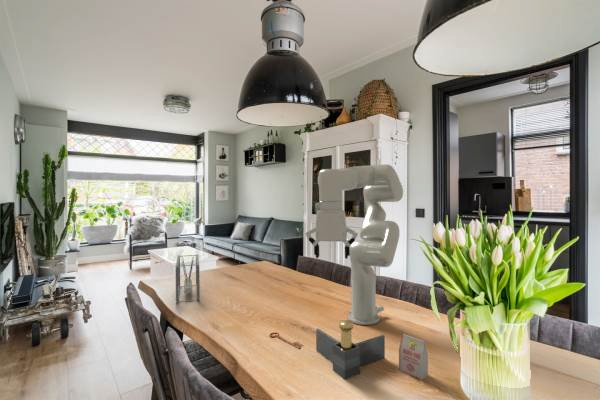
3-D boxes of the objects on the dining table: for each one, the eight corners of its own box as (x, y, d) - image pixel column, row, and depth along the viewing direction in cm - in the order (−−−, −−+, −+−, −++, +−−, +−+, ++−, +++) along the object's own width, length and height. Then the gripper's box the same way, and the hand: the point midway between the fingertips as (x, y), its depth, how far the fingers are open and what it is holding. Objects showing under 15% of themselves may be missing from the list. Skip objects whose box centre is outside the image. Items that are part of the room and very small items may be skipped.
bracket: (352, 339, 110) (352, 317, 109) (390, 361, 95) (390, 337, 94) (310, 352, 101) (310, 328, 101) (344, 379, 86) (344, 352, 86)
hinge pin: (347, 366, 92) (347, 319, 92) (356, 373, 89) (356, 323, 89) (336, 370, 90) (336, 321, 90) (345, 377, 87) (344, 326, 86)
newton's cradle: (199, 302, 149) (199, 264, 148) (175, 304, 145) (175, 266, 145) (198, 284, 177) (197, 253, 177) (178, 286, 174) (177, 254, 173)
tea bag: (405, 365, 93) (405, 331, 93) (427, 375, 88) (427, 339, 88) (398, 370, 90) (398, 335, 90) (421, 380, 85) (421, 343, 85)
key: (308, 347, 106) (279, 332, 117) (308, 344, 106) (280, 329, 117) (295, 351, 102) (267, 335, 113) (295, 348, 102) (267, 333, 113)
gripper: (303, 207, 103) (304, 259, 104) (356, 207, 99) (357, 260, 100) (307, 205, 110) (308, 254, 111) (357, 205, 106) (358, 255, 107)
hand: (331, 257), depth 105 cm, fingers open, 9 cm apart
